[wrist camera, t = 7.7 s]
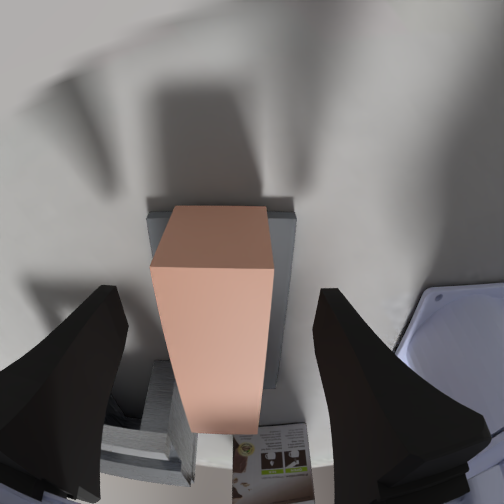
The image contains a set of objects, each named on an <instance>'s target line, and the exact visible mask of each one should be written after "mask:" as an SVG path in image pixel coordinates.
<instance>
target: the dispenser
mask: <svg viewBox="0 0 504 504" xmlns="http://www.w3.org/2000/svg"><path fill="white" fill-rule="evenodd" d="M197 438H198V433H192V432H191V429H190V426H189V423H188V420H187V416H186V413H185V410H184V407H183V403H182V400H181V397H180V393H179V390H178V386H177V383H176V379H175V375H174V372H173V368H172V364H171V361H161V360H154V365H153V369H152V374H151V378H150V383H149V388H148V392H147V397H146V402H145V407H144V412H143V417H142V419H139V418H132V417H125V415H124V414H123V412H122V411H121V409H120V407H119V406H118V404H117V403H116V401H115V399H114V398H113V396H112V394H111V393H110V396H109V399H108V404H107V408H106V413H105V420H104V426H103V434H102V443H101V456H100V472H101V473H105V474H109V475H114V476H119V477H124V478H129V479H134V480H140V481H147V482H153V483H160V484H168V485H177V486H187V487H191V483H194V479H195V465H196V451H197Z"/></svg>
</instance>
